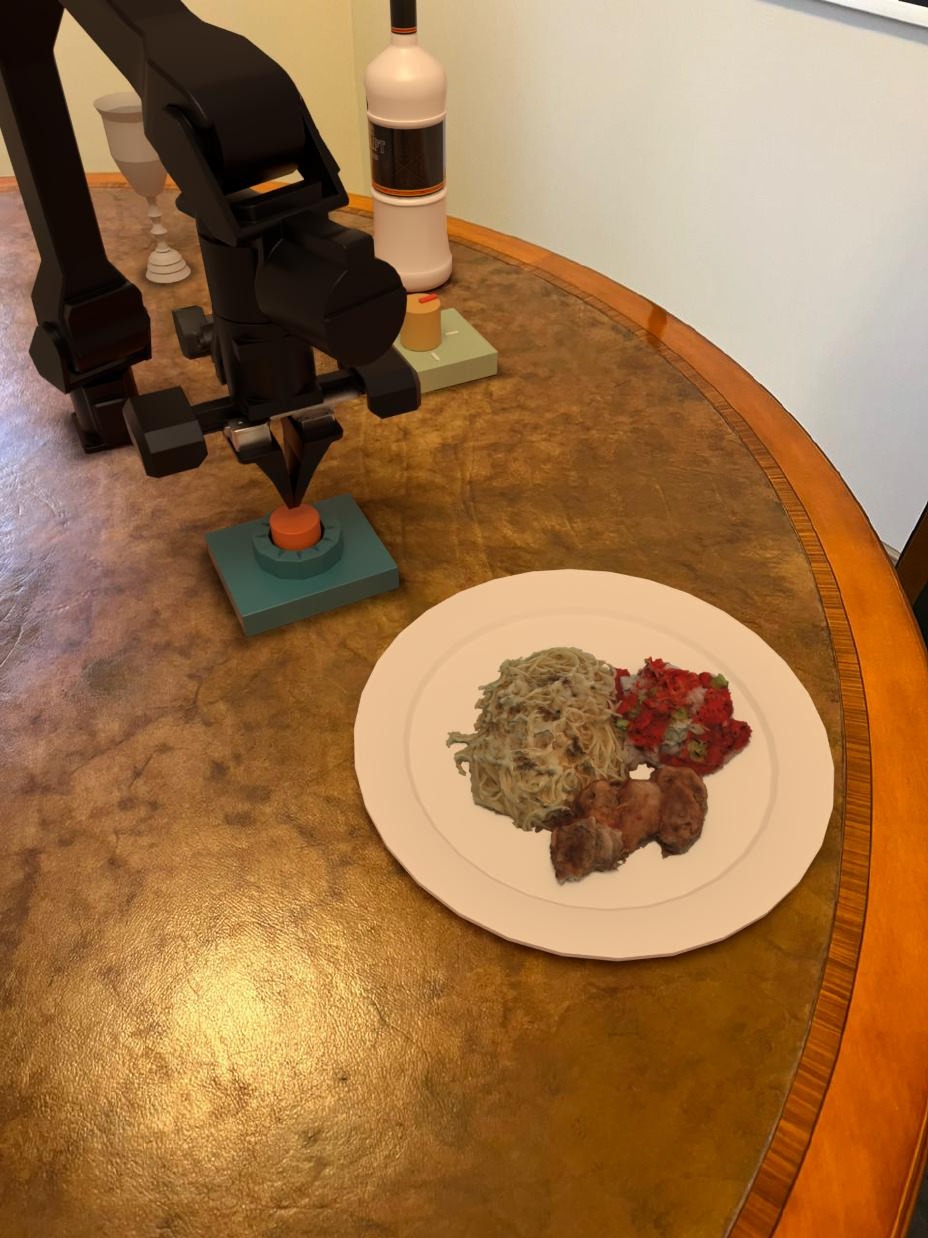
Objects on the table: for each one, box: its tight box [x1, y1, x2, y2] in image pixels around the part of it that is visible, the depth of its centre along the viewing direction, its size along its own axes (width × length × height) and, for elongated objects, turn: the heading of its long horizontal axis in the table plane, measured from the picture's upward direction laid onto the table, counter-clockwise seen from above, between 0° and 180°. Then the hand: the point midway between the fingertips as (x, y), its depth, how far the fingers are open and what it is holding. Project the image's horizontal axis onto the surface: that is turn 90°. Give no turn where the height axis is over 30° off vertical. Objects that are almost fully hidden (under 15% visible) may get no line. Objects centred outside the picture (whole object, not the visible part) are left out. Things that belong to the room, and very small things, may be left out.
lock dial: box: [400, 293, 442, 351], centre depth 90 cm, size 4×4×4 cm
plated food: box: [353, 568, 835, 962], centre depth 59 cm, size 30×30×3 cm
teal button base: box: [204, 492, 400, 638], centre depth 70 cm, size 10×12×4 cm
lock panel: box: [393, 307, 499, 395], centre depth 93 cm, size 10×12×3 cm
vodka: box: [362, 0, 453, 293], centre depth 96 cm, size 9×9×30 cm
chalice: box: [92, 90, 192, 284], centre depth 101 cm, size 7×7×18 cm
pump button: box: [270, 502, 321, 551], centre depth 69 cm, size 4×4×2 cm
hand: (292, 504), depth 67 cm, fingers closed
